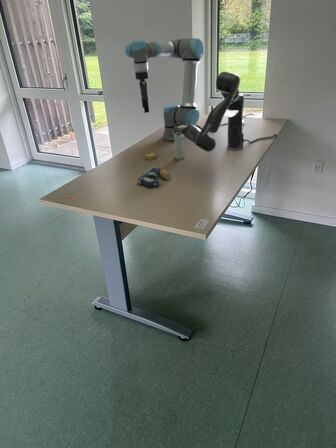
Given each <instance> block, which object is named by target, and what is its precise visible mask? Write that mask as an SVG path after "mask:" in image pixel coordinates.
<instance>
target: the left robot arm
mask: <svg viewBox="0 0 336 448" xmlns="http://www.w3.org/2000/svg"><path fill="white" fill-rule="evenodd" d="M124 51H125V55H126V56H127V57H128V58H132V60H133V68H134V71H135V73H134V75H135V79H136V80H139V82H138V84H139V88H140V96H141V105H142V109H143V112H144V114H145V113H146V114H147V113H150V106H149V105H150V104H149V96H148V87H147V86H148V84H147V83H148V82H147V81H146V80H147V79H149V78H150V74H149V73H150V72H149V71H148V70H149V65H148V64H149V63H148V59H150V58H157V57H165V58H169V59H170V58H173V59H181V62H182V63H183V64H184V65H183V82H182V97H181V98H182V99H181V104H171V105H166V106H165V107H164V108H163V123H164V130H163V135H162V139H163V140H164V141H167V142H175V140H174V127H175V126H180V127H182V126H183V127H187V126H188V125H190V124H193V125H195V126H196V125H197V123H198V122H199V119H200V110H199V109H198V108H197V107H198V106H197V104H196V102H195V101H196V89H197V76H198V75H197V74H198V66H199V64H200V63H201V60H202V59H203V57H204V55H205V45H204V43H203V40H202V39H200V38H198V37H197V38H194V37H192V38H190V37H189V38H179V39H178V38H177V39H174V40H167V41H165V42H158V41H150V42H146V40H145V39H137V40H132V42H131V43H128V44H126V45H125V50H124ZM250 115H251V116H254V114H253V113H247V114H245V115H243V118H245V117H248V116H250ZM225 125H228V122H227V123H226V122H225V123H222V124H220V126H219V127H221V126H225ZM202 128H203V127H201V129H202ZM184 137H185V135H184V134H182V139H184Z"/></svg>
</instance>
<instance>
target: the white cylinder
mask: <svg viewBox="0 0 336 448" xmlns="http://www.w3.org/2000/svg"><path fill="white" fill-rule="evenodd" d="M178 127H179V128H180V126H178ZM174 128H175V127H174ZM179 131H180V129H179ZM174 140H175V141H174V152H175V159H176V160H183V159H184V143H183V138H182V134H181V133H180V135H177V134H175V133H174Z"/></svg>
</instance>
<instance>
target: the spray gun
mask: <svg viewBox="0 0 336 448" xmlns="http://www.w3.org/2000/svg"><path fill="white" fill-rule="evenodd" d="M158 177H160V178H162V179H164V180H165V181H168V180H169V179H170V178H171V173H170V172H169V171H167V170H166V169H162V168H161V167H160V166H157V167H155V166H151V167H150V169H148V170H147V171H146V172H144V173H143V174H142V175H141V176H140V177H138V179H137V184H140V185H141V186H143V185H144V186H146V187H148V188H151V187H157V186H158V185H160V181H161V180H160V179H158Z"/></svg>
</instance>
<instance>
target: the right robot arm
mask: <svg viewBox="0 0 336 448" xmlns="http://www.w3.org/2000/svg"><path fill="white" fill-rule="evenodd" d="M240 83H241V76H240V75H238V74H236V73H232V72H229V71H221V72H220V73H219V74H218V75H217V77H216V80H215V87H216V90H217V91H218V92H219V93H220V95H221V97H222V101H221V102H219V103H218V104H217V105H215V106H214V107H213V108H212V109H211V110H210V111H209V113H208V115H207V118H206V121H205V123H204V125H203V126H202V127H201V126H200V125H199V124H195V125H193V124H190V125H188V126H181V127H180V128H179V127H178V126H175V128H174V133H175V134H177V135H180V133H181V134H183V135H184V137H185V138H186V139H187V140H189V141H190V142H192V143H193V144H195V146H197V147H198V148H200V149H202V150H203V151H205V152H212V151H213V150H214V149H216V147H217V142H216V140H215V138H214V137H212V136H210V135H208V133H211V134H216V133H217V132H218V131H219V129H220V127H221V126H220V125H221V123H222V121H223V118H224V116H225V114H226V112H227V111H230V112H231V111H237V112H236V113H234V114H231V115H228V117H227V123H228V124H227V146H226V147H227V149H228V150H229V151H230V150H231V151H237V150H241V149H243V148H244V143H245V142H247V143H249V144H253V143H255V142H257V141H260V140H264V139H266V140H267V139H272V138H274V137H277V136H278V135H277V134H276V133H274V134H273V135H271V136H266V137H265V136H264V137H259V138H256V139H254V140H252V141H250V140H248V139H245V137H244V134H245V133H244V132H243V128H244V127H243V123H244V122H243V120H244V117H243V116H244V105H245V96H244V94H242V93H241V94H240V90H239V87H240V85H241V84H240ZM201 128H202V129H201ZM179 129H180V131H179Z"/></svg>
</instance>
